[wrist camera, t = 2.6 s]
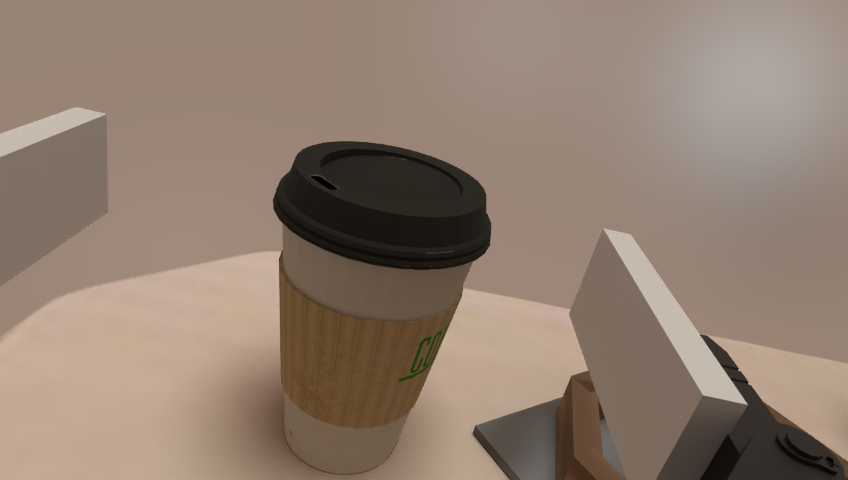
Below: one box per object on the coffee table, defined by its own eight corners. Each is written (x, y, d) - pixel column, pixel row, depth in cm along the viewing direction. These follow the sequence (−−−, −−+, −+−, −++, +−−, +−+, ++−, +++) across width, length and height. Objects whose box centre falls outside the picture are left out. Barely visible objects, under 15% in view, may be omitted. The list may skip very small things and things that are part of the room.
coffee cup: (464, 451, 32) (545, 207, 25) (316, 543, 25) (375, 243, 19) (358, 351, 38) (403, 133, 31) (215, 404, 31) (234, 140, 25)
